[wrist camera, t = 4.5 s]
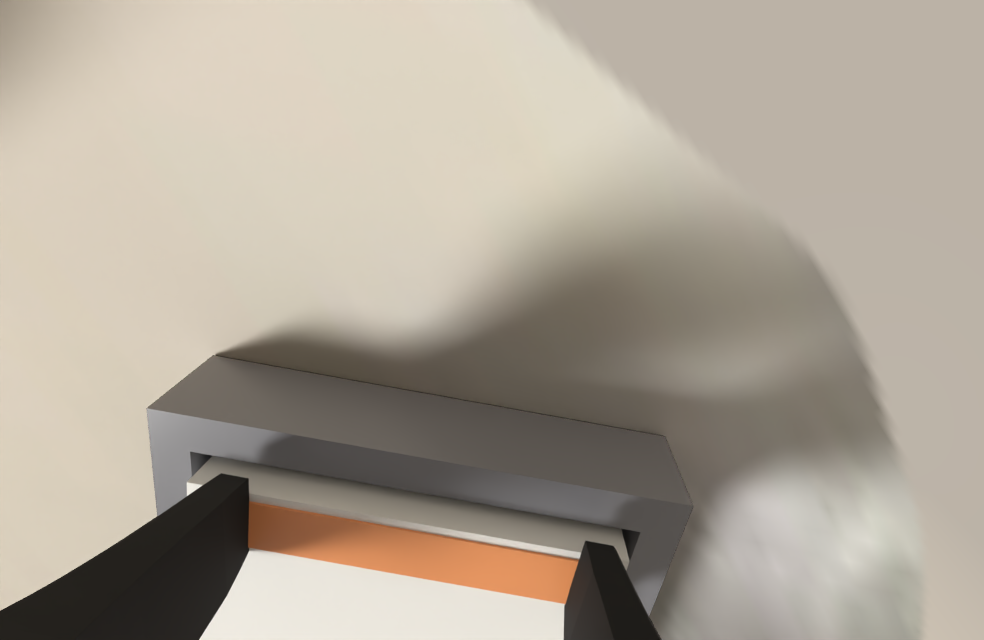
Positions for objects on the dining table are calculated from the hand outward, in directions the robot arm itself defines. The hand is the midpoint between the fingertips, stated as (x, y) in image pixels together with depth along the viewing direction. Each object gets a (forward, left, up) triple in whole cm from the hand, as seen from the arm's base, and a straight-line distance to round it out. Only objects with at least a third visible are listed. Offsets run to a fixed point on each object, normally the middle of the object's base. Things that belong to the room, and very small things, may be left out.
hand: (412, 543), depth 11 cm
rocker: (0, -2, -1) cm, 2 cm away
